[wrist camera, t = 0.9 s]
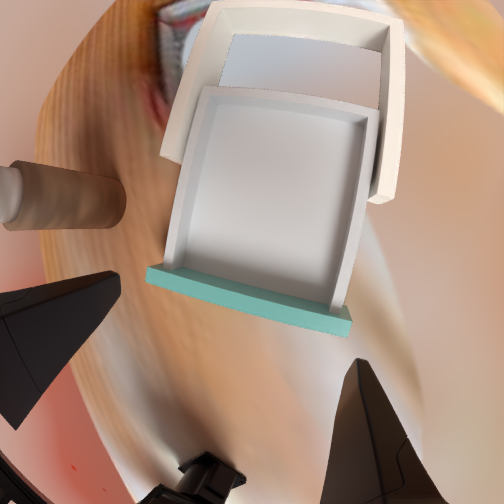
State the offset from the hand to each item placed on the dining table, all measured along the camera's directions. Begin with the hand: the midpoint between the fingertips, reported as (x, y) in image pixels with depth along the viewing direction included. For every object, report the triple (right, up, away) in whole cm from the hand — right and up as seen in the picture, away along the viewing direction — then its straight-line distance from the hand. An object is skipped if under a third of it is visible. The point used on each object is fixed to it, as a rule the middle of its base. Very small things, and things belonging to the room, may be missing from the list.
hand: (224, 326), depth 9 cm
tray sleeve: (+5, +16, +12) cm, 21 cm away
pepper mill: (-14, +8, +17) cm, 23 cm away
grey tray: (+3, +7, +13) cm, 15 cm away
